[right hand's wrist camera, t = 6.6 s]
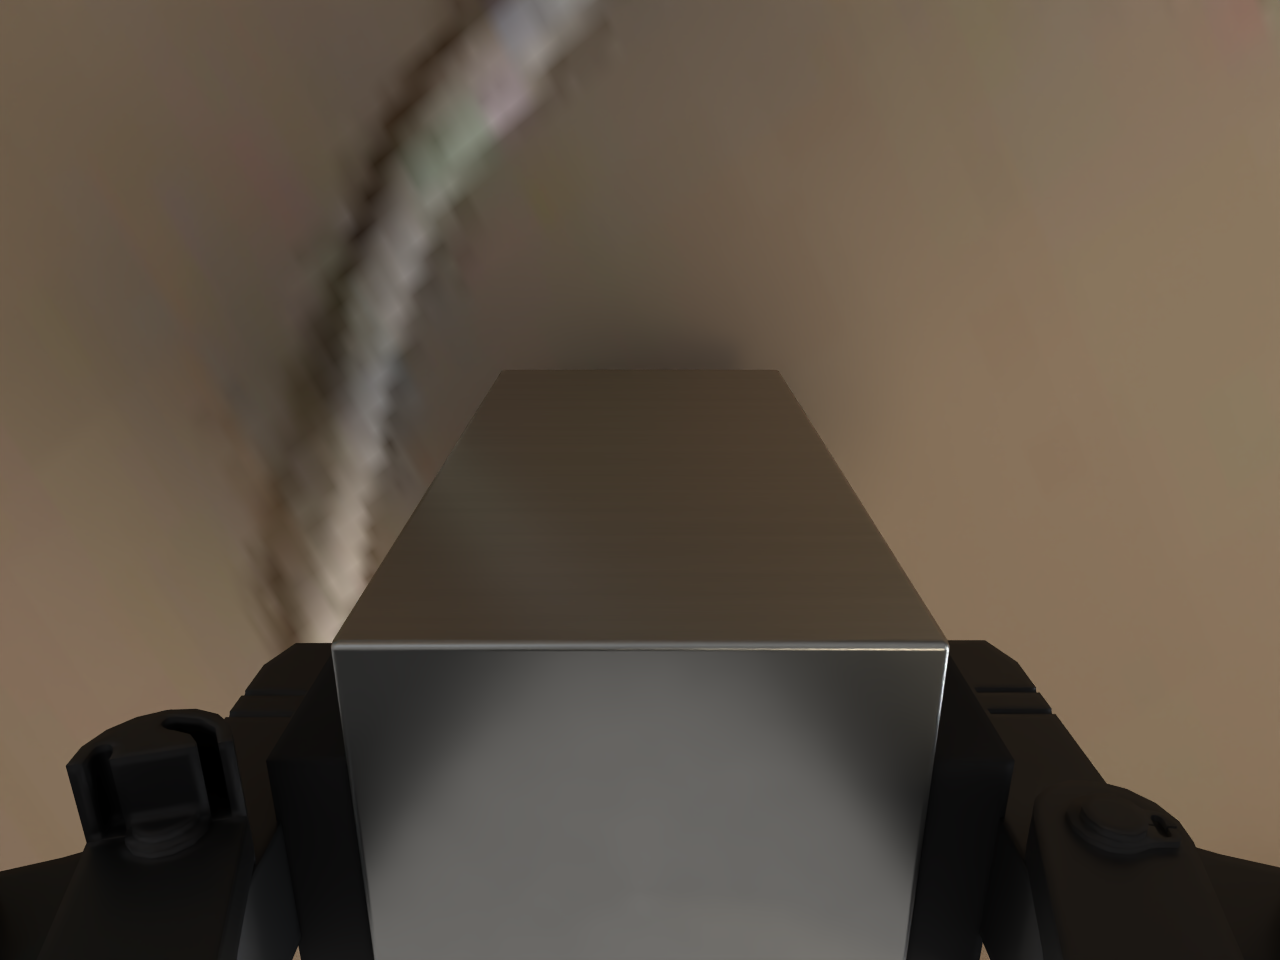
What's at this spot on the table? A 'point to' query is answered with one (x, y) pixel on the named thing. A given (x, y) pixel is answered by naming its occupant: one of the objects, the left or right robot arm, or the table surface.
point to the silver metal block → (640, 687)
